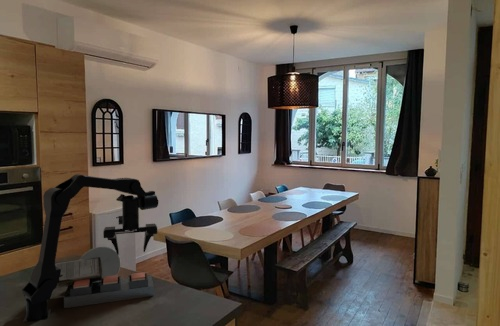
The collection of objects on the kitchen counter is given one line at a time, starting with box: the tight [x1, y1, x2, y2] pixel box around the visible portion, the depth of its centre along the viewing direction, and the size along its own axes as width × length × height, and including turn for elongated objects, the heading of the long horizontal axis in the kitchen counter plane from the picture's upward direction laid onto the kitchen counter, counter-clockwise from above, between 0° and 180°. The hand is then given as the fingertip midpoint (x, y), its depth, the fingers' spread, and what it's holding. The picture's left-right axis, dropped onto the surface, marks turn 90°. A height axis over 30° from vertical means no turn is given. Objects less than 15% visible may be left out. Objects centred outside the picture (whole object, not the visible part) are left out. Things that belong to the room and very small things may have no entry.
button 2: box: [103, 274, 119, 285], centre depth 121 cm, size 4×4×3 cm
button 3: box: [73, 279, 90, 288], centre depth 118 cm, size 4×4×3 cm
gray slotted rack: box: [63, 272, 155, 309], centre depth 123 cm, size 10×28×6 cm, turn 110°
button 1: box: [130, 271, 146, 281], centre depth 124 cm, size 4×4×3 cm
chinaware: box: [79, 246, 122, 283], centre depth 133 cm, size 15×15×8 cm
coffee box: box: [54, 257, 102, 290], centre depth 123 cm, size 9×6×16 cm
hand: (131, 253), depth 132 cm, fingers open, 9 cm apart
